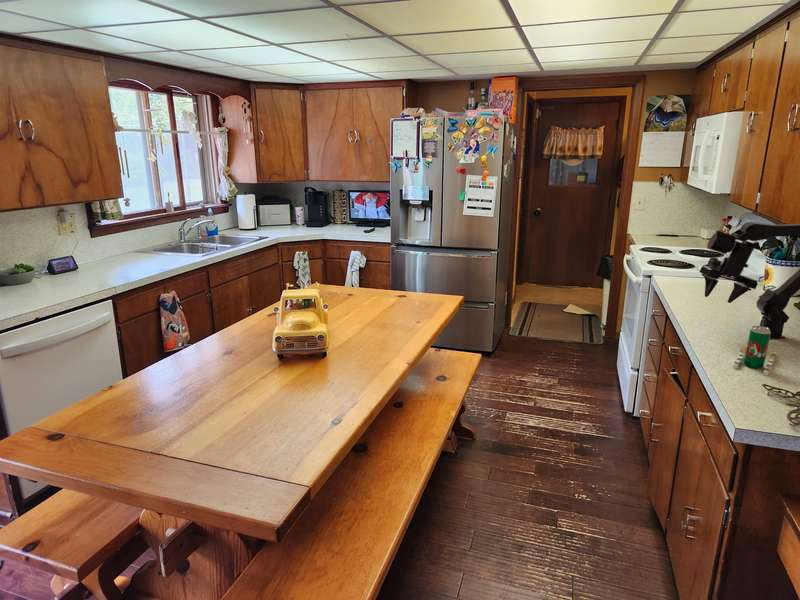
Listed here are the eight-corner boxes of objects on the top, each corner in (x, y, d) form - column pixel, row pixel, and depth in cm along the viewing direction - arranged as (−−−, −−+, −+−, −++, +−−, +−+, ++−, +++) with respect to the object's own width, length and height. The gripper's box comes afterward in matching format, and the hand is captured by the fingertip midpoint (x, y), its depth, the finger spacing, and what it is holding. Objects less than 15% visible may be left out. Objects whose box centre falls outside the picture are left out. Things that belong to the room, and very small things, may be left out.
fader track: (744, 349, 171) (745, 345, 170) (776, 356, 165) (777, 351, 165) (732, 368, 156) (733, 363, 156) (767, 375, 151) (768, 371, 150)
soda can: (757, 363, 160) (765, 325, 157) (767, 369, 155) (775, 331, 152) (740, 362, 160) (747, 324, 157) (748, 369, 155) (756, 330, 152)
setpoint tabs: (740, 350, 167) (741, 347, 166) (776, 358, 161) (777, 355, 160) (739, 352, 165) (739, 349, 165) (775, 359, 159) (776, 356, 159)
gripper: (746, 258, 189) (725, 297, 194) (700, 245, 186) (681, 285, 192) (768, 267, 179) (746, 308, 184) (720, 254, 176) (699, 296, 181)
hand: (717, 299), depth 185 cm, fingers open, 9 cm apart
